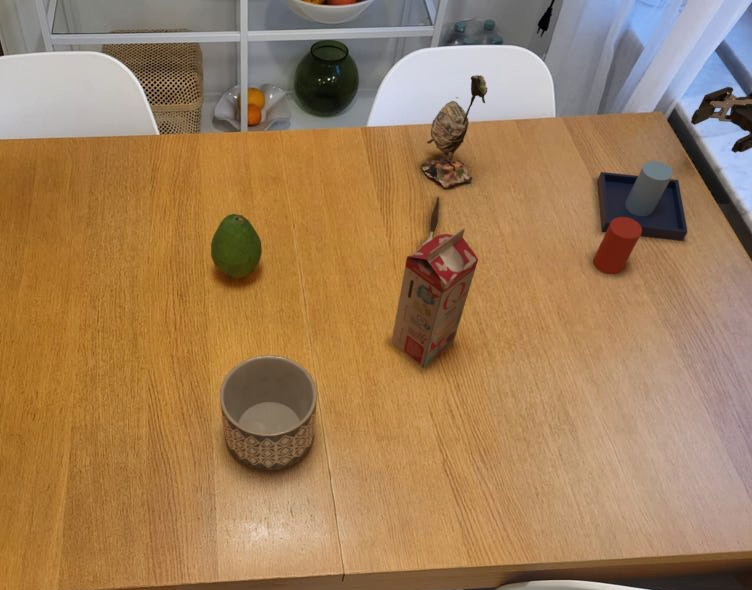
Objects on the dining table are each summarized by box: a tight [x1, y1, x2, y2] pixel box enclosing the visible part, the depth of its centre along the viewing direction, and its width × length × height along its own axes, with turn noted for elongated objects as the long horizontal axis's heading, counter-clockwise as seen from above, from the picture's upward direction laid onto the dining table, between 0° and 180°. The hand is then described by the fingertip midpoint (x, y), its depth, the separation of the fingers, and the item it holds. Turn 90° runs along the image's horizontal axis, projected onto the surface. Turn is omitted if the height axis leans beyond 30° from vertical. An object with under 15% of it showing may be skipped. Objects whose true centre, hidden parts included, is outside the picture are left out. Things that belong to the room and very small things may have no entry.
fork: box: [420, 196, 440, 247], centre depth 128 cm, size 3×16×2 cm, turn 166°
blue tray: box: [596, 171, 688, 241], centre depth 130 cm, size 13×13×2 cm
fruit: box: [210, 213, 263, 279], centre depth 119 cm, size 8×8×12 cm
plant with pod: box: [420, 74, 489, 188], centre depth 130 cm, size 8×11×20 cm
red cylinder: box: [592, 217, 642, 275], centre depth 121 cm, size 5×5×8 cm
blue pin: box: [625, 160, 674, 217], centre depth 128 cm, size 5×5×8 cm
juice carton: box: [390, 227, 479, 369], centre depth 106 cm, size 7×7×22 cm
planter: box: [219, 354, 318, 471], centre depth 102 cm, size 13×13×10 cm
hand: (714, 132), depth 123 cm, fingers open, 8 cm apart
